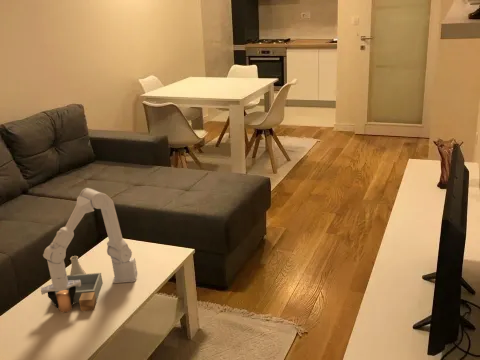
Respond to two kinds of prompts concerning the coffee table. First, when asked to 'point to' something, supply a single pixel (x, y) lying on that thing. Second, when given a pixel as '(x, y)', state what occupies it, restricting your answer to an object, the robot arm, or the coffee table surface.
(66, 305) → the terracotta cylinder
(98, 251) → the coffee table surface
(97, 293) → the slate tote
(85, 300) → the walnut cube
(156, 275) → the coffee table surface
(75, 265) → the flask
